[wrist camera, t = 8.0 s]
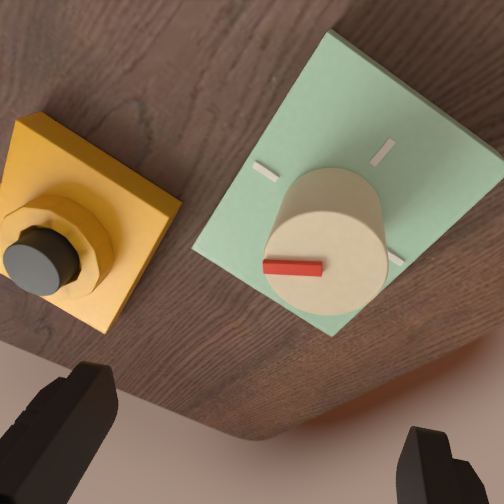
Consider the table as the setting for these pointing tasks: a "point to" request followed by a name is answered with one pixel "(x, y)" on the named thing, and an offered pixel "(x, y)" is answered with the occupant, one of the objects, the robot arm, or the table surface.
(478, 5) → the table surface
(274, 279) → the knob
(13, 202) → the housing
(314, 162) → the green dial base plate
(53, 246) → the dark grey push button
